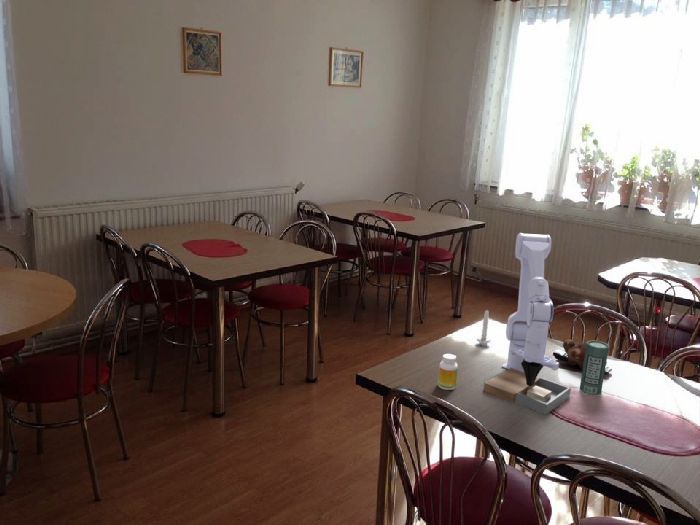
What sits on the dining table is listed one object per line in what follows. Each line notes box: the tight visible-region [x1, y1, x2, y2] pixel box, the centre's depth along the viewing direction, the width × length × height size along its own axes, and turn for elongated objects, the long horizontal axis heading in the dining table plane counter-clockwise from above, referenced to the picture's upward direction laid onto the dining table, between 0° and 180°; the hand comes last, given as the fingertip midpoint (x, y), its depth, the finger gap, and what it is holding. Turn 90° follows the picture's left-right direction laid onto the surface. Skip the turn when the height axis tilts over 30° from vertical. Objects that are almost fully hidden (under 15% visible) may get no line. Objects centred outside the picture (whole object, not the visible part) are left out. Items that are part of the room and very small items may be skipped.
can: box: [579, 339, 610, 396], centre depth 186 cm, size 6×6×15 cm
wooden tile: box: [527, 386, 552, 402], centre depth 181 cm, size 5×5×2 cm
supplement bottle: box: [437, 353, 459, 391], centre depth 185 cm, size 5×5×10 cm
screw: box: [476, 309, 492, 347], centre depth 217 cm, size 13×5×5 cm
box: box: [514, 376, 572, 415], centre depth 180 cm, size 15×10×3 cm, turn 137°
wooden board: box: [483, 368, 540, 403], centre depth 187 cm, size 16×10×2 cm, turn 137°
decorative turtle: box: [562, 339, 608, 371], centre depth 204 cm, size 10×15×8 cm, turn 46°
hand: (530, 384), depth 183 cm, fingers closed
